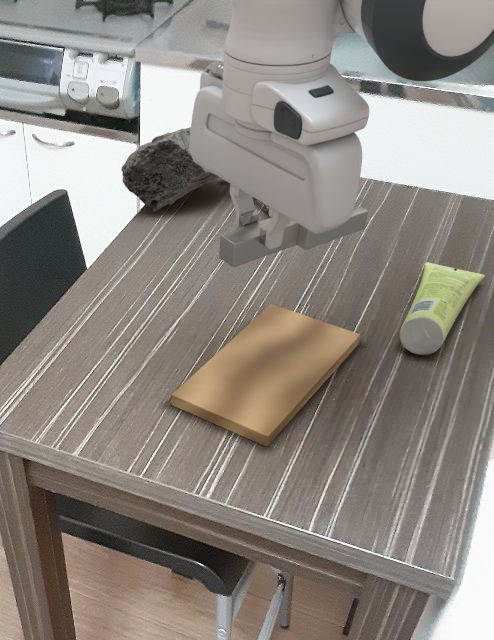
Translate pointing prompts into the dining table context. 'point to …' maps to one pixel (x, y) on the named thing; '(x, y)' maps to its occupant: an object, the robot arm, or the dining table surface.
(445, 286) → the tube
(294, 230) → the fork
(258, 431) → the board
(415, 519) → the dining table surface
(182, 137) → the stone
